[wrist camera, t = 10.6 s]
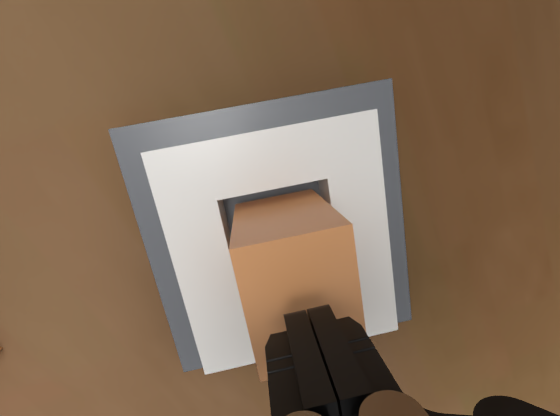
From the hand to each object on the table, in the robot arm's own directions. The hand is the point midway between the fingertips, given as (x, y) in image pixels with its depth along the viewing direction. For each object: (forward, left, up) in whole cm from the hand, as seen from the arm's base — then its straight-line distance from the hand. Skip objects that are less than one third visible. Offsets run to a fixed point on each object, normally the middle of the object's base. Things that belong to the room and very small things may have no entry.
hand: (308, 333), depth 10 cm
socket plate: (0, 0, -12) cm, 12 cm away
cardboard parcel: (0, 0, -10) cm, 10 cm away
